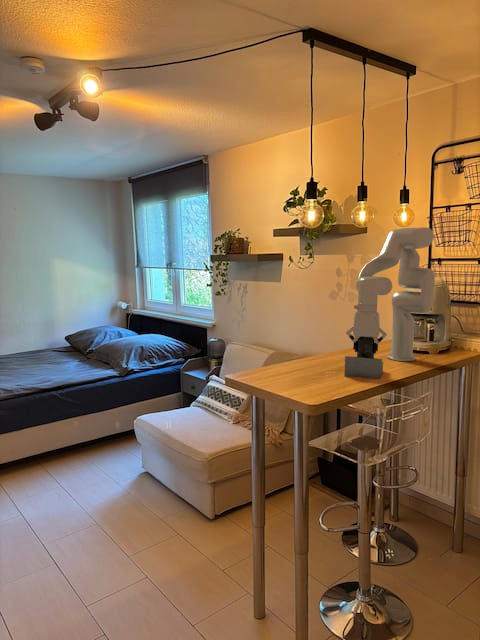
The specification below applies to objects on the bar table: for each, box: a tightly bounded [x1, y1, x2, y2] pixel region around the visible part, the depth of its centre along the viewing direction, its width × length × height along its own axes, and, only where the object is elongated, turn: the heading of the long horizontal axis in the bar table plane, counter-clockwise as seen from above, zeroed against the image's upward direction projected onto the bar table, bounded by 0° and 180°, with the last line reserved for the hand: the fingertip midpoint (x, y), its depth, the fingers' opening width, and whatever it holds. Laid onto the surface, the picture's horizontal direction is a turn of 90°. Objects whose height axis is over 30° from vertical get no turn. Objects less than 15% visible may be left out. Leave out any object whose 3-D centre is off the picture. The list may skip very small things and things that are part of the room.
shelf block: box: [344, 355, 384, 380], centre depth 189 cm, size 14×14×8 cm
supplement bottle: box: [356, 337, 375, 358], centre depth 189 cm, size 7×7×12 cm
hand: (365, 351), depth 189 cm, fingers closed on supplement bottle, 6 cm apart
